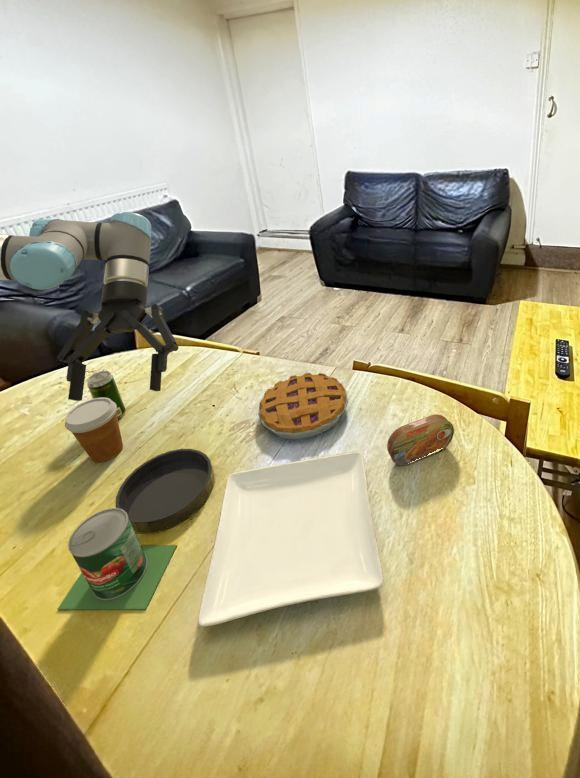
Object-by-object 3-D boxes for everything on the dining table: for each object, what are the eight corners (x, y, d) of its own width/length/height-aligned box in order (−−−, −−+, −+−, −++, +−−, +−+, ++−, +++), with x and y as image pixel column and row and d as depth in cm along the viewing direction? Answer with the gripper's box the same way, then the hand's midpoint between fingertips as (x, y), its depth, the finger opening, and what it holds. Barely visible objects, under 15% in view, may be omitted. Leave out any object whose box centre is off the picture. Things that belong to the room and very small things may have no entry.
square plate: (363, 461, 88) (361, 447, 86) (385, 600, 63) (384, 584, 61) (231, 484, 84) (227, 470, 82) (200, 641, 59) (194, 625, 58)
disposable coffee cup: (77, 474, 88) (56, 431, 83) (88, 444, 96) (69, 403, 91) (127, 460, 91) (110, 417, 86) (134, 431, 99) (118, 391, 94)
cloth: (57, 610, 64) (57, 608, 64) (99, 546, 73) (99, 545, 73) (145, 609, 63) (145, 608, 63) (177, 546, 72) (176, 544, 72)
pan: (99, 533, 75) (94, 522, 74) (150, 459, 91) (146, 449, 90) (192, 533, 75) (188, 521, 73) (227, 458, 90) (224, 447, 89)
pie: (336, 376, 116) (334, 361, 113) (360, 428, 97) (358, 411, 95) (256, 397, 109) (253, 381, 107) (265, 456, 90) (261, 439, 88)
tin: (392, 471, 85) (390, 440, 82) (386, 460, 88) (384, 430, 84) (454, 446, 90) (455, 416, 87) (446, 437, 93) (447, 407, 89)
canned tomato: (145, 542, 73) (126, 498, 68) (149, 581, 67) (129, 536, 62) (92, 568, 69) (69, 524, 65) (92, 612, 63) (66, 566, 59)
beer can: (131, 412, 106) (116, 373, 101) (110, 425, 101) (94, 386, 96) (118, 406, 108) (103, 368, 103) (97, 419, 104) (80, 380, 99)
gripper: (197, 287, 87) (194, 389, 79) (70, 299, 84) (55, 406, 76) (184, 272, 80) (179, 383, 72) (44, 285, 77) (25, 401, 69)
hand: (115, 395), depth 74 cm, fingers open, 13 cm apart
